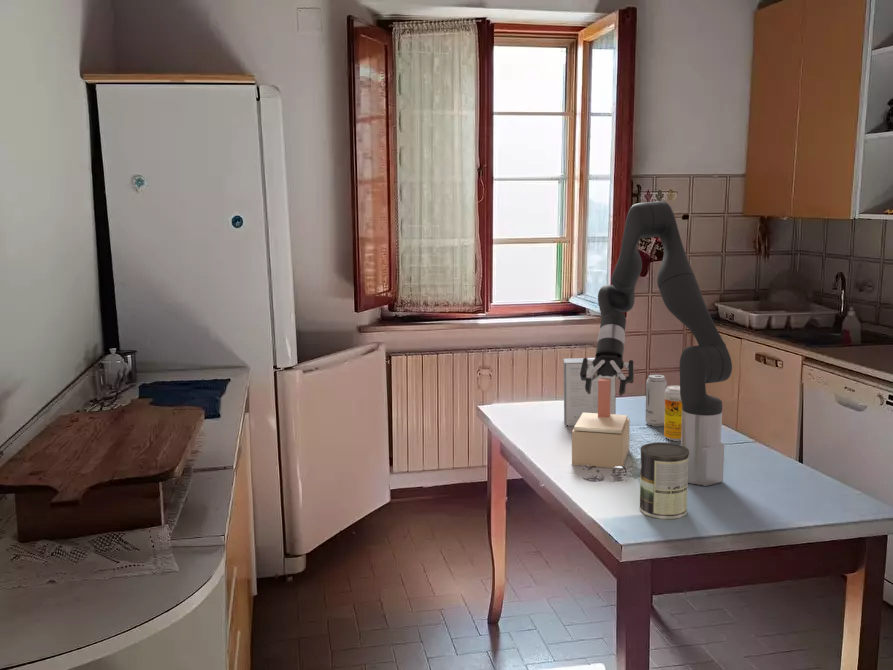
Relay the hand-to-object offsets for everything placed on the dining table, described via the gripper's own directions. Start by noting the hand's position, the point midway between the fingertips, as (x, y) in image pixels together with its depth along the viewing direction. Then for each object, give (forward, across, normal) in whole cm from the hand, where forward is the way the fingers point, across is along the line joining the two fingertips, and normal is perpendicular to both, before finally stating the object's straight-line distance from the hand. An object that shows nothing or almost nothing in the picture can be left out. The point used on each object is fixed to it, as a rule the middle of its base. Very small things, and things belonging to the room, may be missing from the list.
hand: (604, 393), depth 217 cm
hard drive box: (-8, -8, +32) cm, 34 cm away
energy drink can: (-11, +11, +34) cm, 38 cm away
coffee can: (+39, +18, -16) cm, 46 cm away
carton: (+15, 0, +8) cm, 17 cm away
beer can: (-1, +18, +24) cm, 30 cm away
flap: (+9, 0, +1) cm, 9 cm away
